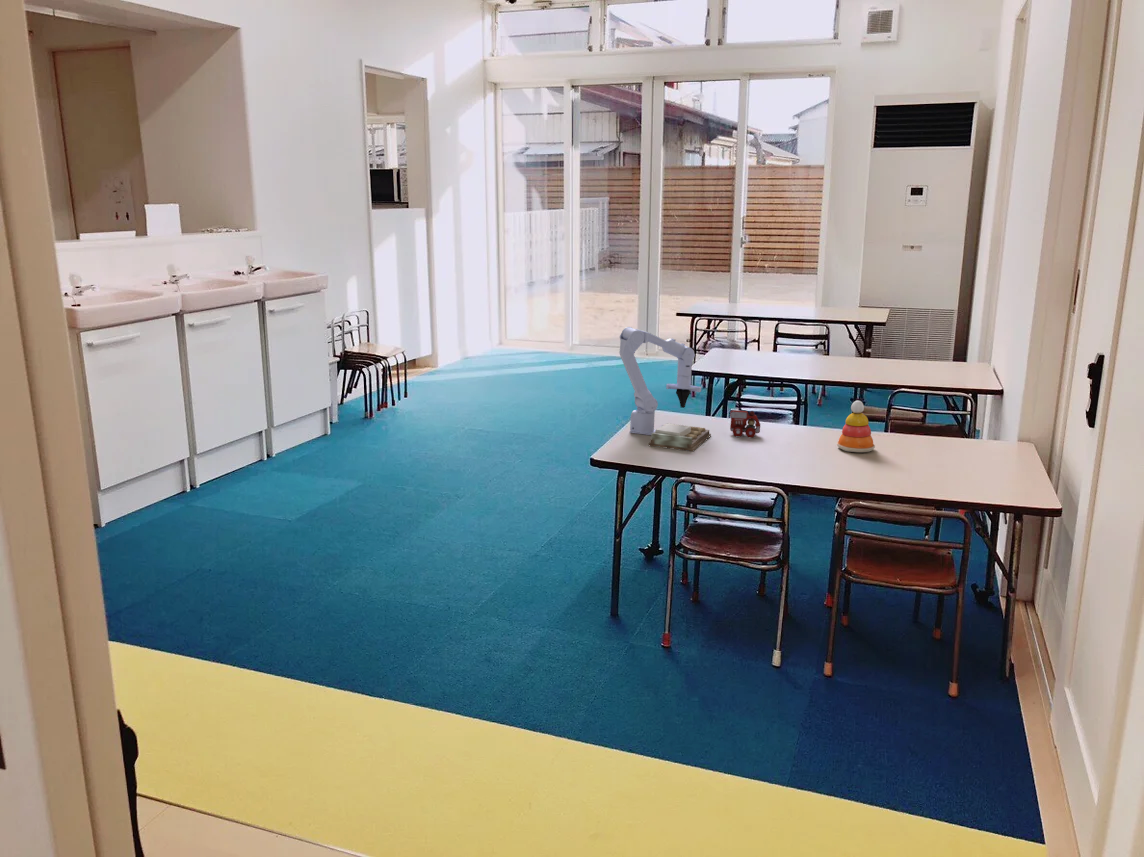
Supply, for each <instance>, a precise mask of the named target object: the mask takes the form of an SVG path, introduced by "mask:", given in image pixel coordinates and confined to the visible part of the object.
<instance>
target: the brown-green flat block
mask: <svg viewBox="0 0 1144 857" xmlns="http://www.w3.org/2000/svg"><path fill="white" fill-rule="evenodd" d="M650 436H651V437H650V438H651V439H650V442H648V446H649V445H650V446H649V447H655V446H660V447H659V448H663V447H667V448H666V449H670V448H674V449H673V450H678V449H680V451H686V450H689V452H694V451H695V450H696V449H698V448H699V447H700V446H701V445H702V444H704V443H705V442H704V441H705V440H706V439H707V438H708V437H709V436H710V437H712V434H711V433H710V429H706V427H700V426H699V427H698V426H691V432H690V433H689V434H687V435H685V436H677V435H668V434H660V433H652V435H650ZM710 437H709V438H710ZM709 438H708V439H709ZM708 439H707V440H708ZM707 440H706V441H707ZM701 443H702V444H701ZM700 444H701V445H700ZM699 445H700V446H699ZM698 446H699V447H698ZM697 447H698V448H697ZM693 450H694V451H693Z"/></svg>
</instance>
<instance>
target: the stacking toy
mask: <svg viewBox="0 0 1144 857" xmlns="http://www.w3.org/2000/svg"><path fill="white" fill-rule="evenodd" d="M850 409H851V412H852V413H850V414H849V415H848V416H847V417H846V419H845V421H844V422H845V424H844V426H843V427H842V431H841V434H840V435H839V438H838V441H836V445H837V447H838V448H839V449H841V450H843V451H844V452H847V453H851V452H852V453H869V452H873V450H874V449H875V448H876V444H874V439H873V437H872V430H871V426H869V419H868V416H867V415H865V414H864V413H862V412H864V410H865V406H864V403H863V402H862V401H861V400H855V401H853V403H852V404H851V406H850Z"/></svg>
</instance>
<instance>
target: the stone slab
mask: <svg viewBox="0 0 1144 857" xmlns="http://www.w3.org/2000/svg"><path fill="white" fill-rule="evenodd" d="M655 430H656V431H655V433H660V434H668V435H677V436H685V435H687V434H689V433H690V432H691V426H689V425H683V424H676V423H665V424H664V425H661V426H659V427H658V428H655Z"/></svg>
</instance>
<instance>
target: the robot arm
mask: <svg viewBox="0 0 1144 857" xmlns="http://www.w3.org/2000/svg"><path fill="white" fill-rule="evenodd" d="M676 340H677V339H674V338H668V339H663V338H661V337H659V336H657V335H655V334H653V333H651V332H648V331H646V330H642V329H638V328H633V327H632V326H627V327H624V328H623V330H622V331H621V333H620V335H619V343H620V344H619V355H620V359H621V362H622V363H623V366H624V368H625V370H626V374H627V375H628V378H629V381H630V383H631V385H632V387H633V391H634V393H633V397H634V404H635V406H636V409H634V410H632V412H631V414H630V424H629V426H630V427H629V428H630V430H629V433H631V434H638V435H647V436H652V433H655V431H656V429H655V415H656V414H655V411H656V410H657V408H658V406H659V403H658V400H657V399H656V398H655V397H654V395H653V394H652V392H651V391H650V390H649V389H648V386H647V384H646V382H645V381H646V380H645V379H644V376H643V373H642V372H641V369H640V366H639V364H638V362H637V359H636V357H635V353H636V352H637V350H638V349H639V348H640V346H642V344H646V343H650V344H653V345H656V346H658V347H661V349H662V351H663V352H664V353H665V354H668V355H670V356H673V357H675V358H677V372H676V373H677V374H676V375H677V376H676V383H666V386H665V387H666V390H676V391H675V394H676V395H677V398H678V401H679V406H680V408H683V409H685V408H686V404H687V401H688V399H689V396H690V394H691V392H697V393H700V392H702V386H696V385H692V367H693V366H692V365H693V360H694V359H695V357H696V353H695V351H694V350H693V348H692V347H690V346H686V345H685V343H683V342H681V343H680V342H679V341H676Z"/></svg>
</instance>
